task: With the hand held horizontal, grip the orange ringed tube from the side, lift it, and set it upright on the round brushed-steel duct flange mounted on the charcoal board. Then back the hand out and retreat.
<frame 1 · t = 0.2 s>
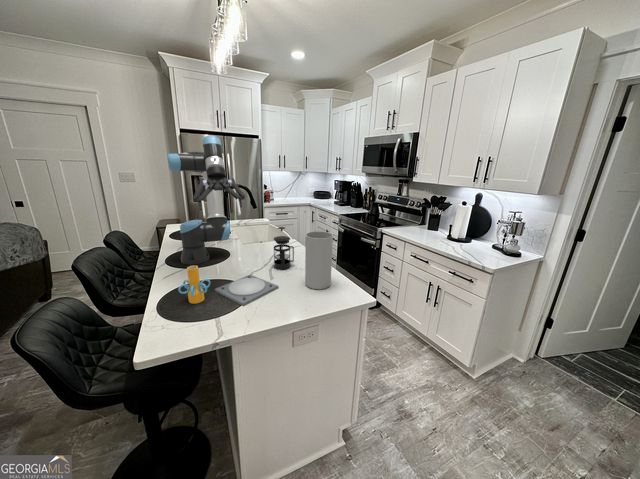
hand: (222, 215, 105), 35 cm above the countertop, tool tilted 35°, fingers open, 13 cm apart
cylinder vase: (317, 284, 125), on the countertop
orange ringed tube: (196, 300, 107), on the countertop
duct flange: (247, 289, 117), on the countertop
french press: (283, 267, 144), on the countertop
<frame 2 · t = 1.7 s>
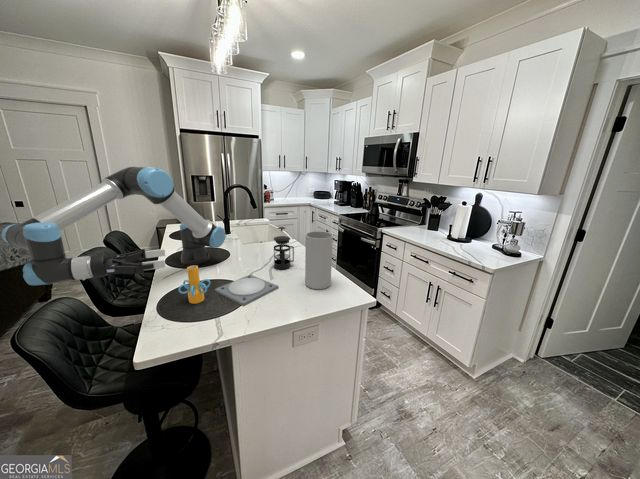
hand: (165, 257, 97), 21 cm above the countertop, tool horizontal, fingers open, 13 cm apart
nothing on the countertop moved.
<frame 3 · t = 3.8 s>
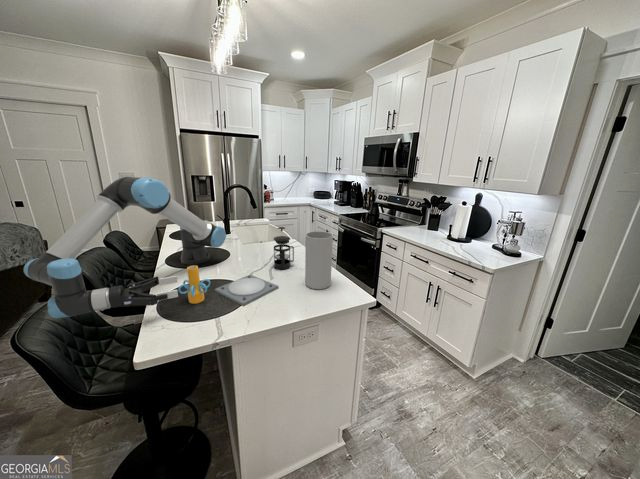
hand: (177, 285, 102), 8 cm above the countertop, tool horizontal, fingers open, 13 cm apart
nothing on the countertop moved.
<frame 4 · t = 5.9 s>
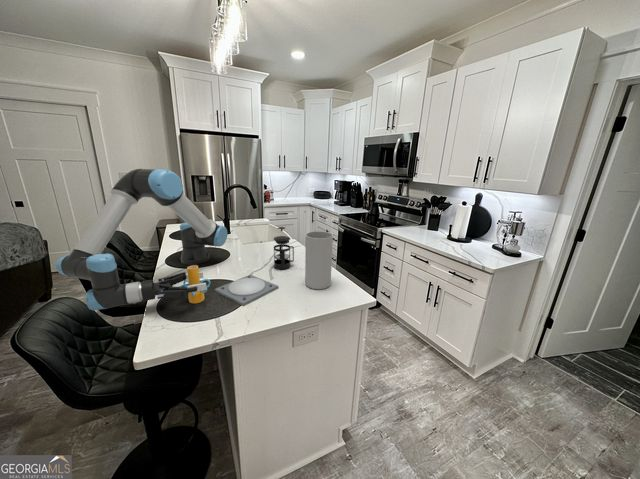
hand: (204, 280, 107), 8 cm above the countertop, tool horizontal, fingers closed on orange ringed tube, 11 cm apart
orange ringed tube: (197, 300, 107), on the countertop, touching gripper
everything else where it was.
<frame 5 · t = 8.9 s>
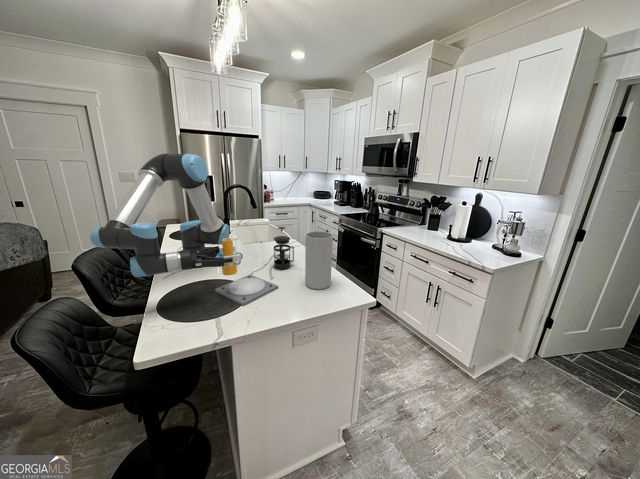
hand: (237, 253, 109), 19 cm above the countertop, tool horizontal, fingers closed on orange ringed tube, 11 cm apart
orange ringed tube: (230, 273, 110), point 10 cm above the countertop, touching gripper
everything else where it was.
when the fingers open (12 cm above the countertop, at t = 11.8 s): orange ringed tube drops 1 cm, resting on duct flange.
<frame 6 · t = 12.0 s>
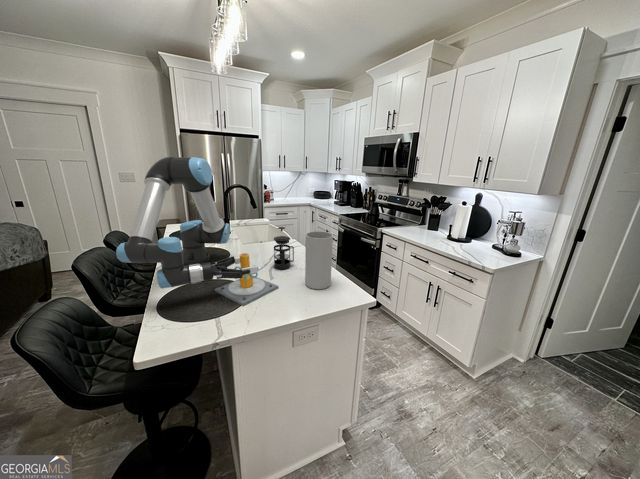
hand: (253, 263, 115), 12 cm above the countertop, tool horizontal, fingers open, 13 cm apart
orange ringed tube: (246, 285, 117), point 2 cm above the countertop, touching duct flange
everything else where it was.
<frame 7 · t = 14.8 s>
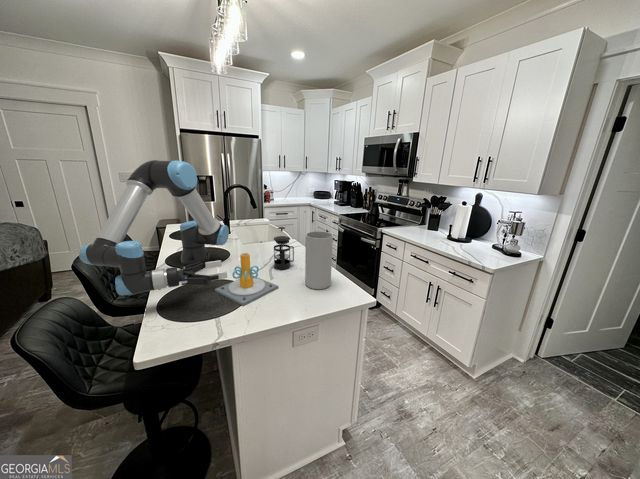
hand: (224, 268, 109), 12 cm above the countertop, tool horizontal, fingers open, 13 cm apart
nothing on the countertop moved.
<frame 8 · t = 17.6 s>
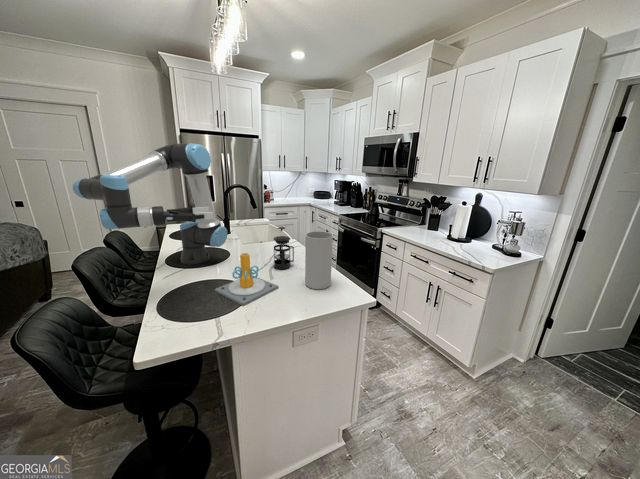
hand: (210, 212, 110), 35 cm above the countertop, tool horizontal, fingers open, 13 cm apart
nothing on the countertop moved.
at the end: orange ringed tube inside the target area on the duct flange (0.2 cm from its centre), point 2.0 cm above the duct flange's base; orange ringed tube tilted 0°; the gripper is holding nothing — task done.
